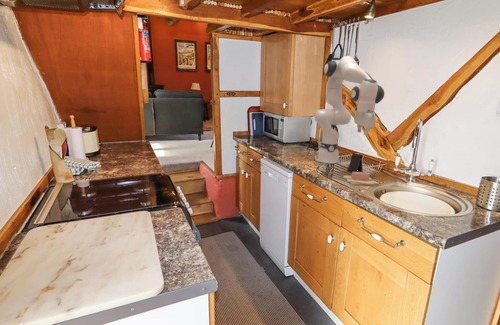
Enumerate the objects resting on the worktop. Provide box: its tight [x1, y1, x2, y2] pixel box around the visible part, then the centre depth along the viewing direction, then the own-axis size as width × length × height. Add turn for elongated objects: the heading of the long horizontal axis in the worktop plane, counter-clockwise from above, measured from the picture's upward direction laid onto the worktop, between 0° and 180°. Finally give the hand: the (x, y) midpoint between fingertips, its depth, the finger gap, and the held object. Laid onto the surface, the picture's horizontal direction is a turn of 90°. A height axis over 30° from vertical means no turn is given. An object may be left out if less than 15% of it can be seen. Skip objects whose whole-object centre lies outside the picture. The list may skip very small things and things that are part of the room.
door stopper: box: [347, 152, 364, 173], centre depth 187 cm, size 9×6×12 cm, turn 128°
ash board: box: [342, 174, 379, 187], centre depth 169 cm, size 15×16×1 cm
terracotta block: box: [351, 171, 370, 181], centre depth 168 cm, size 4×4×9 cm
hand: (362, 133), depth 161 cm, fingers open, 8 cm apart
